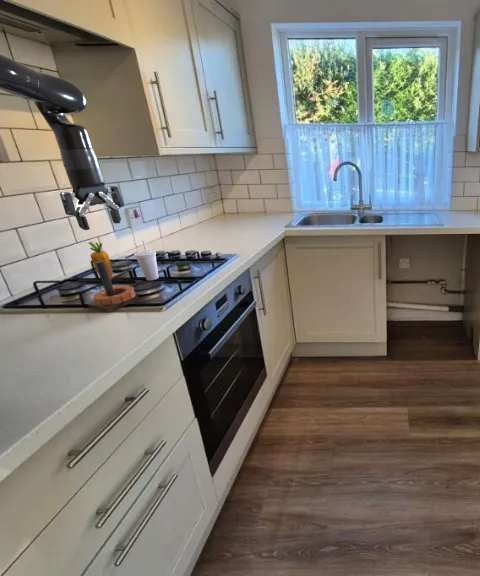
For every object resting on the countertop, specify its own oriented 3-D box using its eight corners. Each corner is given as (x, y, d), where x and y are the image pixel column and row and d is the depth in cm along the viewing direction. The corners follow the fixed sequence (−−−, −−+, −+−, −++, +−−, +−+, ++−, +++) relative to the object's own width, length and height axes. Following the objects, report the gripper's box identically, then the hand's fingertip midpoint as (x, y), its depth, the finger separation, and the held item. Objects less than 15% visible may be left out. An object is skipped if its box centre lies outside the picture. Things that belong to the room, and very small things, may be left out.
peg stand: (109, 312, 104) (93, 268, 98) (89, 308, 107) (72, 265, 101) (139, 299, 111) (125, 258, 106) (119, 296, 114) (105, 255, 109)
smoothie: (166, 277, 129) (155, 239, 123) (147, 283, 124) (135, 244, 118) (157, 274, 132) (146, 237, 127) (138, 279, 127) (126, 241, 122)
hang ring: (110, 307, 103) (107, 301, 103) (87, 302, 107) (85, 296, 106) (142, 293, 112) (141, 288, 111) (121, 289, 115) (119, 284, 115)
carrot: (120, 281, 126) (106, 240, 120) (105, 286, 122) (90, 244, 116) (112, 279, 128) (98, 238, 122) (97, 284, 124) (81, 242, 118)
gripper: (61, 169, 90) (84, 233, 96) (118, 164, 102) (135, 221, 108) (43, 169, 92) (66, 231, 99) (100, 164, 104) (118, 220, 111)
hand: (102, 226), depth 103 cm, fingers open, 8 cm apart
